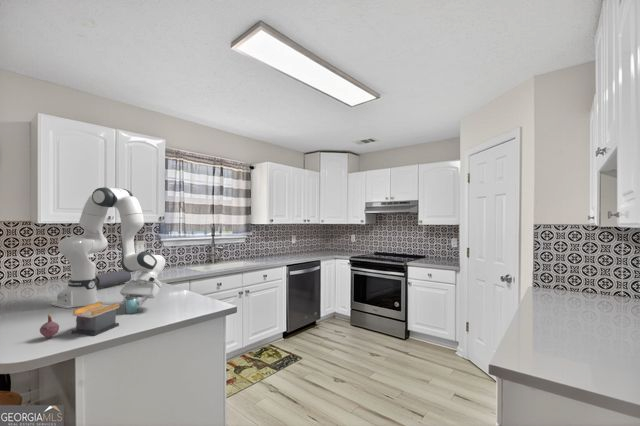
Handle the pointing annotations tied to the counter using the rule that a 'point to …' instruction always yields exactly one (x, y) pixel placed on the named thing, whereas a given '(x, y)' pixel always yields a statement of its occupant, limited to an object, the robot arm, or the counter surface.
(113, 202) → the robot arm
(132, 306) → the teal glass jar
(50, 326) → the vegetable
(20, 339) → the counter surface
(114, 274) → the bluetooth speaker
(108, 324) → the block
